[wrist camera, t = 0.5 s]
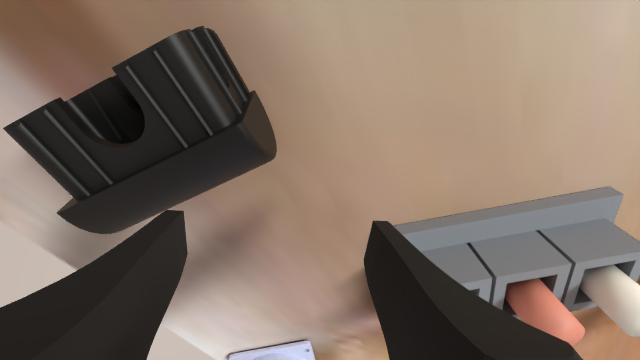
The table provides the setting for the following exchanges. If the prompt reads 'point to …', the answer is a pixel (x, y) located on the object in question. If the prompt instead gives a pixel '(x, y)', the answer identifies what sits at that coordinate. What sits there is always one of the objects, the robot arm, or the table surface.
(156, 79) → the end cap
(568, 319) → the salmon rounded peg
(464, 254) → the socket strip
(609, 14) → the table surface
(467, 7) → the table surface
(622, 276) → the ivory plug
